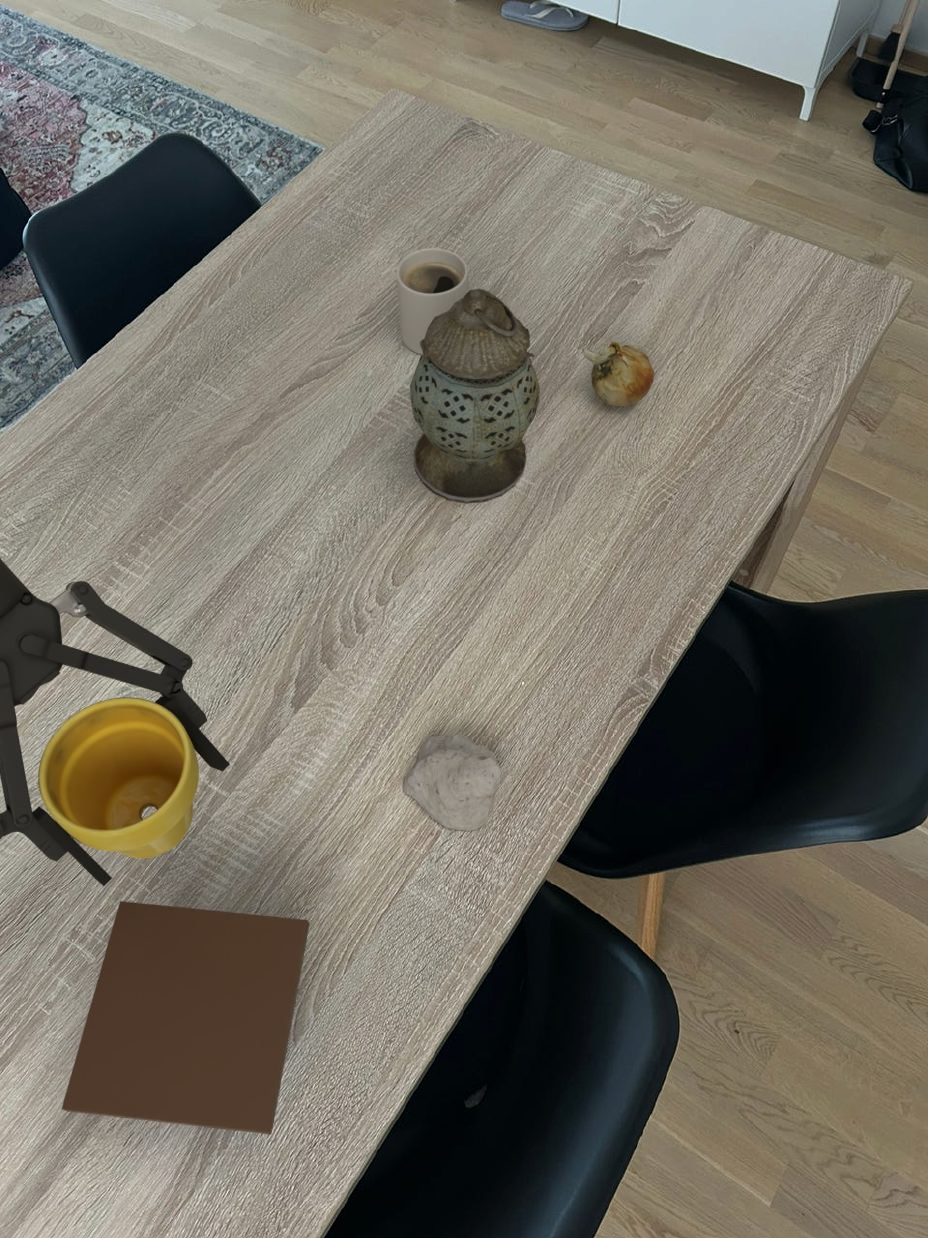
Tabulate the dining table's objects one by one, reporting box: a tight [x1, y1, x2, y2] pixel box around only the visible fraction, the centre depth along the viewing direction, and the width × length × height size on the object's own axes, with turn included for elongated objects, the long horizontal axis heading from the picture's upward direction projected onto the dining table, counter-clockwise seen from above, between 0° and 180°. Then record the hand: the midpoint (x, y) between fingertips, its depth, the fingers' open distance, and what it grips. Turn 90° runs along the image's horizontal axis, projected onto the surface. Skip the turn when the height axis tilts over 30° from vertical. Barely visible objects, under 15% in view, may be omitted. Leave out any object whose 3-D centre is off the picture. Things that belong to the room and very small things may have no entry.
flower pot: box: [37, 696, 200, 859], centre depth 75 cm, size 10×10×10 cm
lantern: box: [409, 288, 541, 504], centre depth 114 cm, size 14×14×25 cm
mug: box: [395, 247, 469, 356], centre depth 133 cm, size 11×10×10 cm
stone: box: [402, 734, 503, 832], centre depth 101 cm, size 10×5×10 cm
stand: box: [61, 900, 310, 1136], centre depth 86 cm, size 16×16×9 cm
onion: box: [582, 341, 655, 407], centre depth 127 cm, size 8×8×8 cm
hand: (163, 820), depth 74 cm, fingers closed on flower pot, 10 cm apart
